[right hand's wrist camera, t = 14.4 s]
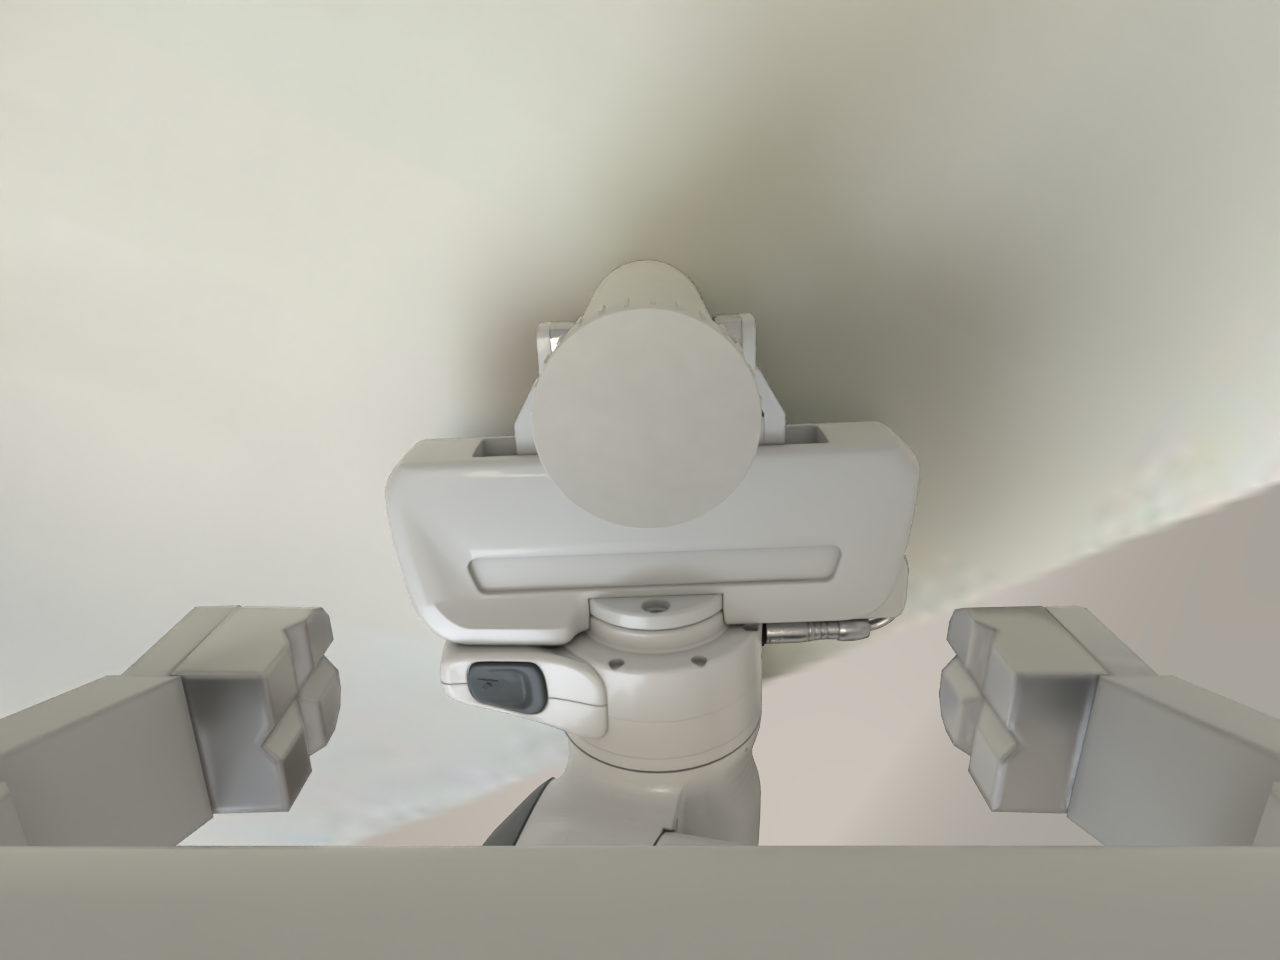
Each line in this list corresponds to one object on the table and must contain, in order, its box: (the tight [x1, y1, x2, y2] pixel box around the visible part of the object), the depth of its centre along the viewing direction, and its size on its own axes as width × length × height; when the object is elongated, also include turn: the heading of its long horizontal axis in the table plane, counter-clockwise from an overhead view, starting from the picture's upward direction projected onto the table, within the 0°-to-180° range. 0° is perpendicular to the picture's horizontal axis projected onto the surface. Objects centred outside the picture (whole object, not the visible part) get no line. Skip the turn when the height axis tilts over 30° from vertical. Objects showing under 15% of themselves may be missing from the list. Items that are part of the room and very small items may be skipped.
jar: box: [583, 260, 712, 320], centre depth 27 cm, size 5×5×16 cm
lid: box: [531, 295, 763, 529], centre depth 20 cm, size 6×6×2 cm
